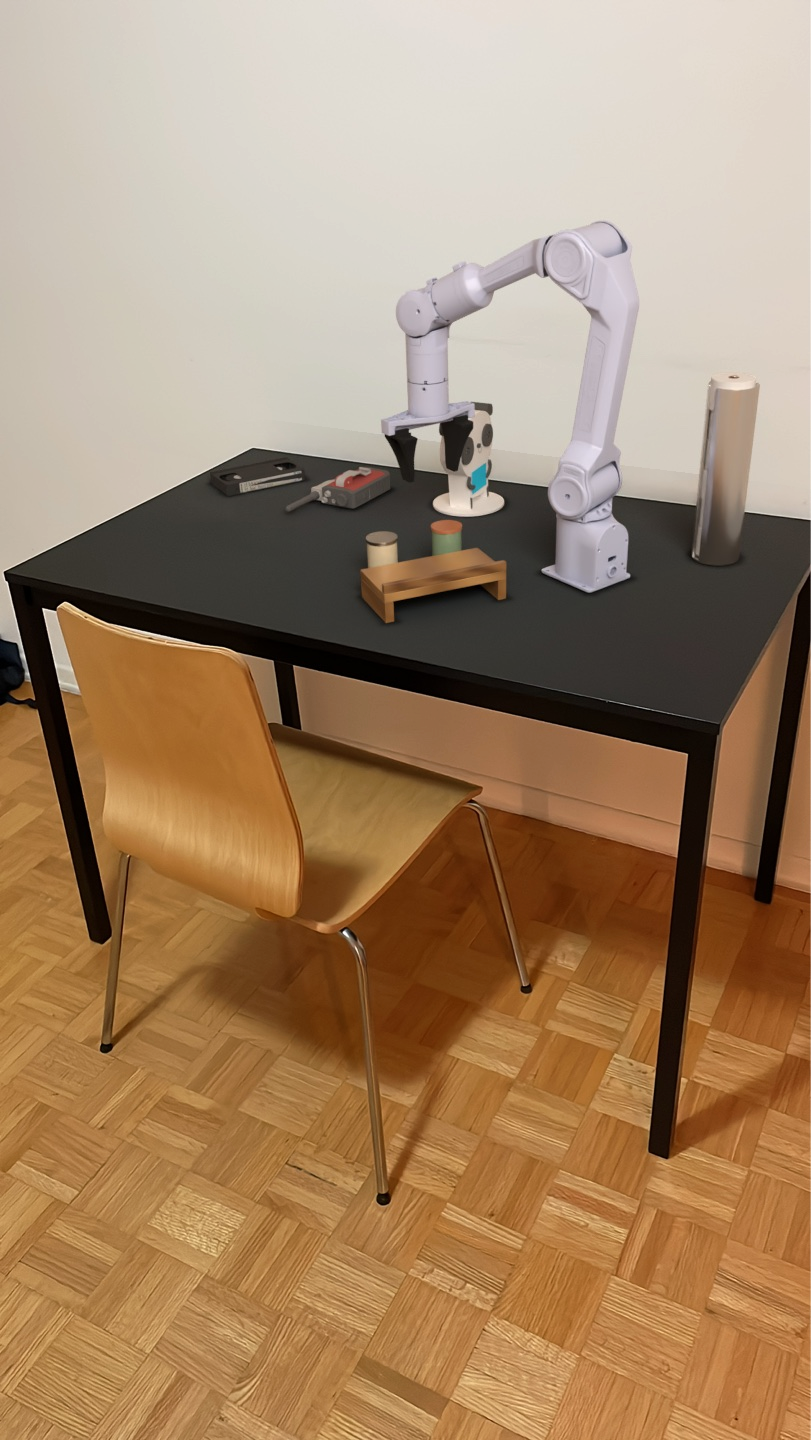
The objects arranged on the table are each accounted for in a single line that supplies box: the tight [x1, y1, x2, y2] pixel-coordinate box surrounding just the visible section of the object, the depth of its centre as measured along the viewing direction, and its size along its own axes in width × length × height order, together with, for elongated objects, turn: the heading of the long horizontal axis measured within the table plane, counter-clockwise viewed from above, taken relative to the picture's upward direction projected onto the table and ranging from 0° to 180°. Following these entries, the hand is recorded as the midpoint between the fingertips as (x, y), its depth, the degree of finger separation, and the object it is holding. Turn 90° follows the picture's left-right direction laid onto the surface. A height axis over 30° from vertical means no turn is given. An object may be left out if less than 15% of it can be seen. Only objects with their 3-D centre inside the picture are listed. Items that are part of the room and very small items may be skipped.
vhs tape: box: [209, 457, 306, 497], centre depth 194 cm, size 14×8×2 cm, turn 119°
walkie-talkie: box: [285, 466, 391, 513], centre depth 183 cm, size 9×4×20 cm
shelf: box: [359, 547, 507, 624], centre depth 149 cm, size 17×9×5 cm, turn 112°
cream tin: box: [365, 530, 399, 568], centre depth 154 cm, size 4×4×6 cm
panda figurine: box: [432, 401, 505, 517], centre depth 177 cm, size 12×11×15 cm
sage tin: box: [430, 519, 463, 556], centre depth 157 cm, size 4×4×6 cm
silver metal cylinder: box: [690, 371, 761, 567], centre depth 152 cm, size 6×6×25 cm
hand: (430, 475), depth 164 cm, fingers open, 7 cm apart
